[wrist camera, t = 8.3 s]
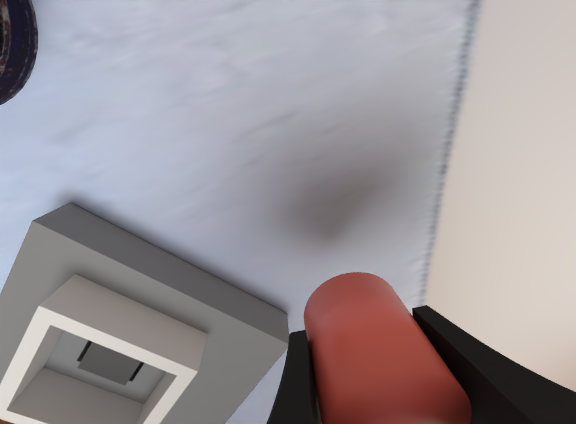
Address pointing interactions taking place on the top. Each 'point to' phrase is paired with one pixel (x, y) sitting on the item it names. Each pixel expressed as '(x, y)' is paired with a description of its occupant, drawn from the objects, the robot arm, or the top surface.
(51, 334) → the grey square socket base
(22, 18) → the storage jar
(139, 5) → the top surface
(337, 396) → the cap
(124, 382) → the button
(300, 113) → the top surface
